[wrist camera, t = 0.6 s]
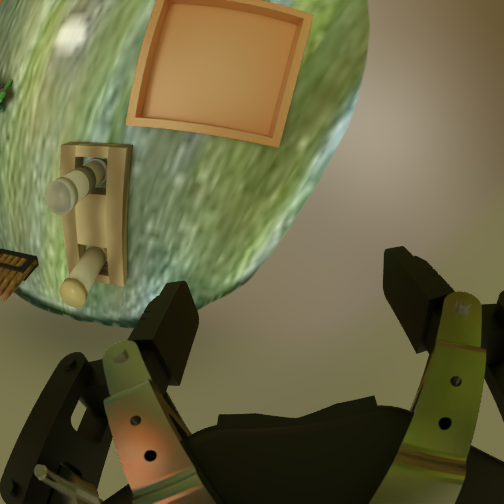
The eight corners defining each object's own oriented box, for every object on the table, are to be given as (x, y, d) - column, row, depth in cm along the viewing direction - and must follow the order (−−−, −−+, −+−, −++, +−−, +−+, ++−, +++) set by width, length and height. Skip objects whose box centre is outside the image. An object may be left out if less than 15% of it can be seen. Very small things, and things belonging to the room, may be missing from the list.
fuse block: (75, 268, 38) (69, 276, 36) (69, 142, 28) (60, 145, 26) (127, 277, 41) (123, 286, 38) (132, 145, 31) (126, 148, 28)
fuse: (89, 260, 38) (62, 304, 29) (87, 239, 36) (56, 281, 27) (110, 263, 39) (86, 309, 30) (108, 242, 37) (82, 286, 28)
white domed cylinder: (85, 183, 32) (46, 213, 23) (86, 156, 30) (44, 179, 21) (108, 185, 33) (74, 217, 23) (110, 158, 31) (73, 181, 22)
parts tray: (135, 122, 29) (125, 125, 26) (166, -1, 21) (160, -11, 17) (272, 143, 33) (278, 148, 30) (303, 23, 25) (313, 15, 21)
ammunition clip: (1, 256, 35) (-30, 293, 25) (-1, 248, 34) (-34, 284, 24) (38, 264, 37) (7, 307, 27) (36, 256, 36) (3, 298, 26)
